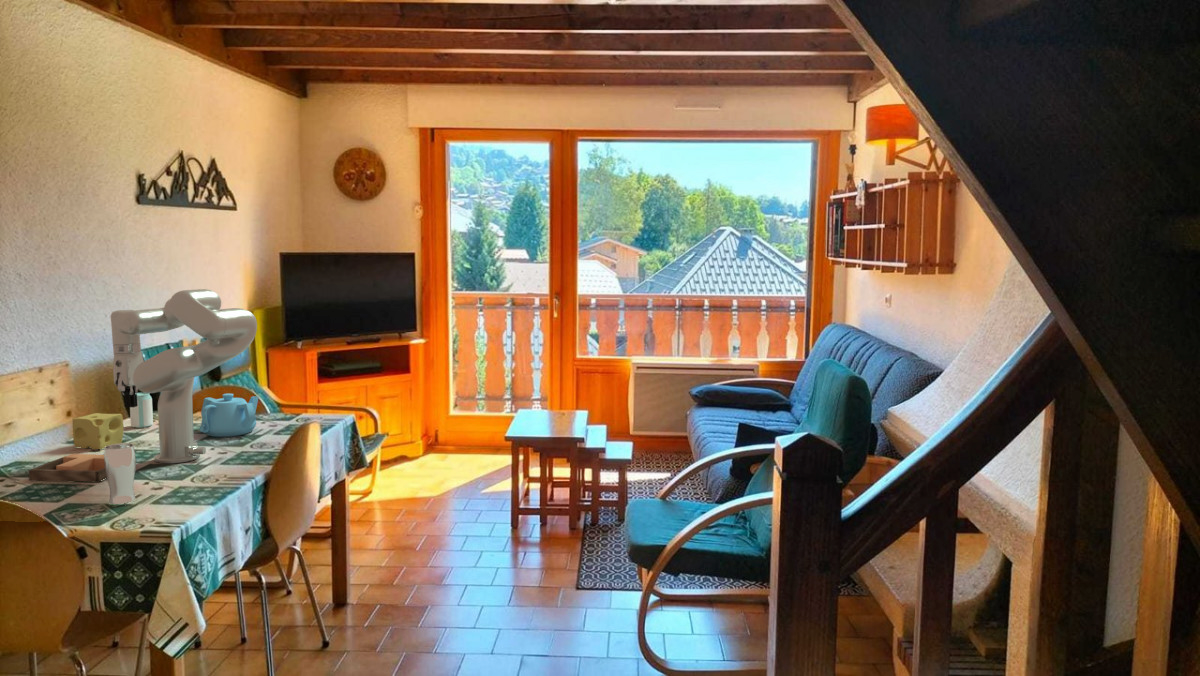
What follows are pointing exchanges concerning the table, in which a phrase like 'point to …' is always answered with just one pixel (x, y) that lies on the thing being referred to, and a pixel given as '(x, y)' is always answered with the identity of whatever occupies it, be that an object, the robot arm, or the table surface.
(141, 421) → the can
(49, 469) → the brown wooden rack
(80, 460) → the t block
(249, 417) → the teapot
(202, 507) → the table surface
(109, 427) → the cheese
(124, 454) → the beer glass
